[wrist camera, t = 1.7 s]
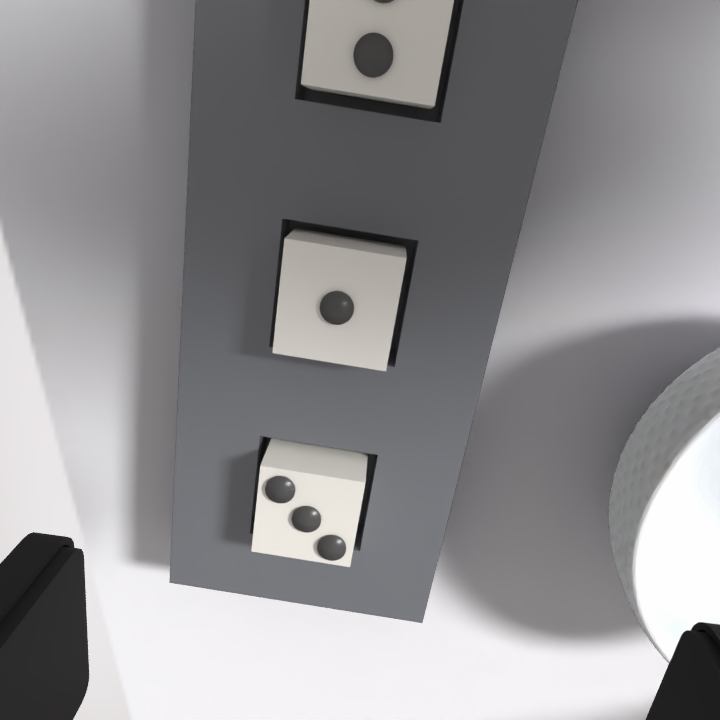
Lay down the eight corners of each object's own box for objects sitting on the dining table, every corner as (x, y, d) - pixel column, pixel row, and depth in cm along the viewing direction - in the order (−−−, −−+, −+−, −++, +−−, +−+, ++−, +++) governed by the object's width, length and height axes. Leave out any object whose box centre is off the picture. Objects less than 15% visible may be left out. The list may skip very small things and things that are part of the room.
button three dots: (272, 436, 25) (259, 467, 23) (367, 452, 25) (365, 485, 23) (263, 516, 27) (250, 553, 24) (353, 531, 27) (349, 569, 25)
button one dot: (295, 228, 22) (283, 239, 20) (405, 246, 22) (406, 259, 20) (283, 332, 24) (271, 354, 21) (386, 349, 24) (385, 372, 21)
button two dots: (326, -52, 19) (317, -79, 17) (455, -31, 19) (464, -55, 17) (310, 89, 20) (300, 83, 18) (429, 109, 20) (435, 106, 18)
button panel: (233, -189, 20) (206, -244, 17) (588, -130, 20) (621, -174, 17) (190, 541, 30) (169, 582, 28) (419, 578, 30) (422, 623, 28)
